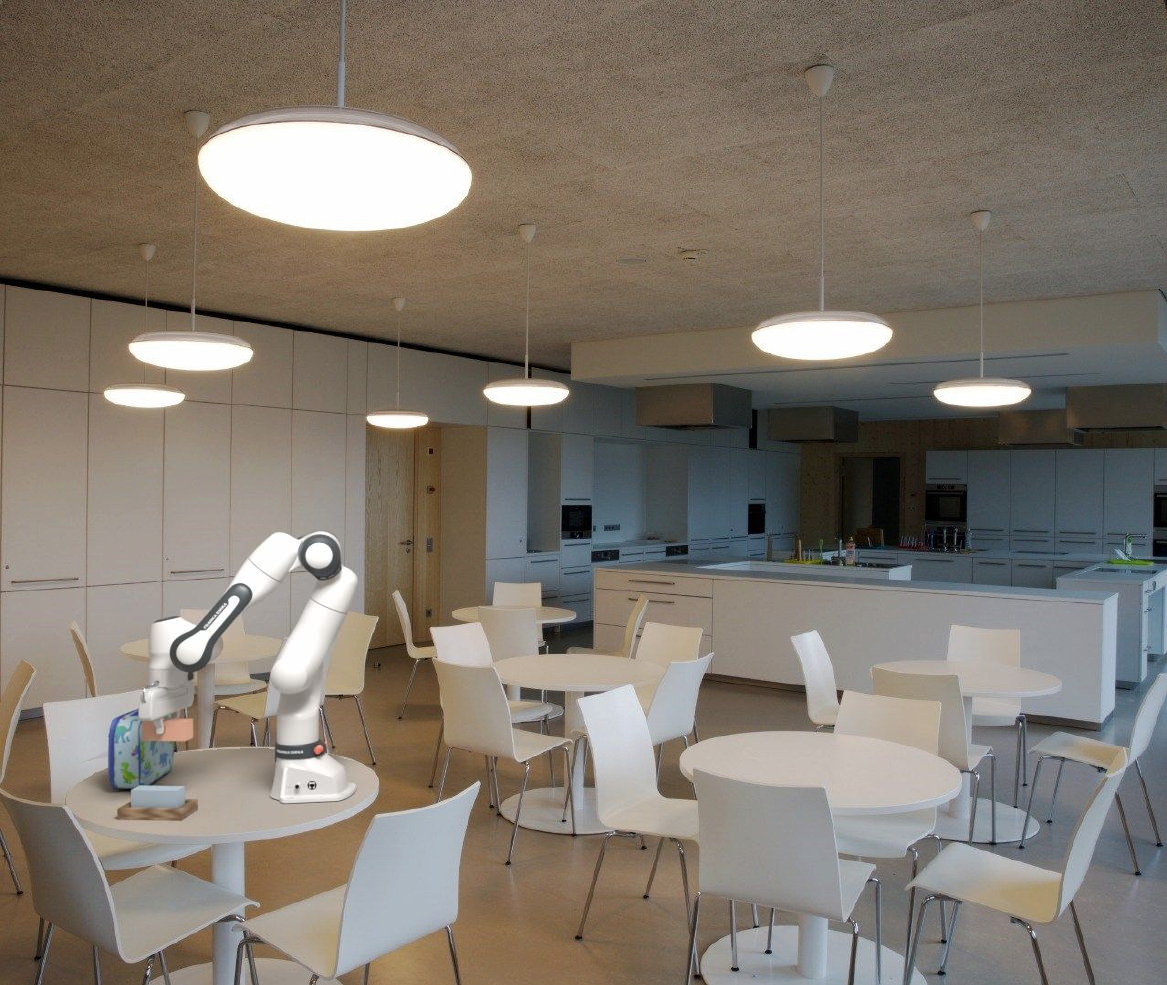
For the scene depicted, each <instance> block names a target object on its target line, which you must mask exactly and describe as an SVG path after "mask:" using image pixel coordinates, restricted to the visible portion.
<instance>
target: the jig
mask: <svg viewBox="0 0 1167 985" xmlns="http://www.w3.org/2000/svg"><path fill="white" fill-rule="evenodd" d="M198 803H199V800H198V799H197V798H196V799H195V798H194V799H193V798H185V804H184V805H182V806H181V807H179V808H150V807H131V801H129V802H127V803H125V804H124V805H122V806H120V807H118V808H117V810H116V813H117V815H116V819H129V820H131V821H132V820H133V821H135V820H136V821H137V820H138V821H140V820H141V821H183V820H185V819H186V818H188V816H191V815H192V814H193V813H194V812H197V810H199V804H198Z"/></svg>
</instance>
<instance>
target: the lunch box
mask: <svg viewBox="0 0 1167 985" xmlns="http://www.w3.org/2000/svg"><path fill="white" fill-rule="evenodd" d="M138 713H139V708H137V709H133V710H131V711H128V712H126V713H124V714H120V715H118V716H116V717H115V718H113V719H112V721H111V722H110V727H109V733H108V748H107V750H108V751H107V754H108V755H107V756H108V757H107V759H108V760H107V764H108V765H107V767H108V768H107V770H108V771H107V772H108V780H109V784H110V786H111V788H112V790H118V789H121V790H123V789H126V790H132V789H134V788H136V787H138V786H140V785H142V786H152V785H153V784H154V783H155V782H156V781H157V780H159V779H161V778H162V777H164V776H165V775H167V774H168V773H170V771H171V770H172V767H173V765H174V756H175V742H176V741H142V721H141V720H140V719H139V716H138ZM164 718H171V715H170V714H169V715H166V716H164Z"/></svg>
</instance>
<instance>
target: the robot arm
mask: <svg viewBox="0 0 1167 985" xmlns="http://www.w3.org/2000/svg"><path fill="white" fill-rule="evenodd" d="M299 567H303V568H304V569H305V570H306V571H307V572H308V573H309V574H311V575H312V576H313V577H315V579H316V582H315V586H314V589H313V590H312V592H311V594H310V596H309V598H308V600H307V603H306V604H305V606H304V608H303V611H302V613H301V614H300V616H299V619H298V621H297V623H296V625H295V627H294V628H293V629H292V631H291V633H290V635H288V638H287V640H286V641H285V643H284V645H283V646H282V648H281V650H280V652H279V653H278V656H277V658H276V660H275V661H274V664H273V665H272V668H271V670H270V682H271V685H272V687H274V689H275V690H276V691H278V692H280V694H279V695H280V696H279V700H278V707H277V709H276V711H277V712H276V741H275V742H274V763H275V769H274V777H273V781H272V782H273V783H272V787H271V791H270V793H269V796H270V797H271V798H272V799H275V800H278V801H279V802H280V803H281V804H300V803H319V802H321V803H322V802H323V803H324V802H338V801H342V800H345V799H347V798H349V797H351V796H352V795H353V794H355V792H356V790H357V784H356V783H355V782H349V777H348V772H347V769H346V766H344V765H343V764H341V763H340V762H339V761H338V760H336V759H335V758H334V757H332V756H331V755H329V754H328V753H327V746H328V741H327V740H326V741H323V740H322V739H320V736H319V735H320V706H321V705H320V704H321V697H322V689H323V688H322V686H323V673H324V659H325V658H326V656H327V654H328V652H329V650H330V649H331V647H332V645H333V644H334V642H335V641H336V638H337V636H338V634H339V632H340V630H341V628H342V626H343V624H344V622H345V620H346V617H347V615H348V613H349V611H350V609H351V607H352V604H353V601H354V598H355V595H356V593H357V592H356V591H357V589H358V585H359V578H358V575H357V574H356V573H355V572H354V571H353V570H352V569H350V568H348V567H346V566H344V565H343V564H342V546H341V543H340V540H339V538H338V537H337V536H336V535H335V534H334V533H332V532H330V531H327V530H322V529H321V530H315V531H312V532H309V533H306V534H305V535H302V536H299V537H297V538H295V537H293V536H292V535H290V534H288V533H285V532H281V531H280V532H279V531H278V532H277V531H276V532H273V533H272V534H271V535H269V537H267V538H266V539H265V540H264V541H262V542H261V544H259V545H258V546H257V547H256V548H255V549H254V550H253V551H252V552H251V554H250V555H249V556H248V557H247V558H246V559H245V560H244V562H243V563H242V565H241V566H240V567H239V568H238V570H237V572H236V573H235V575H234V577H233V578H232V580H231V582H230V584H229V585H228V587H227V589H226V590H225V591H224V593H223V595H222V596H221V597H220V598H219V600H218V601H217V602H216V603H215V604H214V606H213V607H212V608H211V609H210V610H209V611H208V613H207V614H206V615H205V616H204V617H203V618H202V619H201V621H199V623H198V624H194V623H192V622H190V621H188V620H187V619H184V618H183V617H182V616H179V615H172V616H168V617H167V616H166V617H163V618H160V619H157V620H155V621H154V622H152V623H151V625H150V628H149V632H148V645H147V646H148V656H149V664H148V671H147V672H148V674H147V675H148V676H147V677H148V679H147V680H148V681H147V682H148V683H147V684H146V685H145V686H144V688H143V689H142V692H141V694H140V696H139V703H138V709H139V713H138V716H139V719H140V720H141V721H153V722H154V724H155V726H156V733H157V734H163V733H165V732H166V730H165V729H166V726H164V725H163V720H164V716H166V715H169V714H170V715H171V718H178V719H180V716H181V711H182V710H184V709H187V708H189V707H191V706H193V703H194V700H195V682H194V680H195V679H196V674H195V673H196V672H199V671H201V670H203V668H205V667H206V666H207V665H208V664H210V663H211V662H213V661H214V660H216V659H217V658H218V657H219V656H220V654H221V653H222V652H223V646H224V641H223V638H222V636H223V635H224V633H225V632H226V631H227V630H228V629H229V628H230V626H231V625H232V624H233V623H234V621H235V620H236V619H238V617H239V616H241V614H243V613H244V612H245V611H247V610H249V609H250V608H252V607H254V606H255V605H256V606H257V605H258V604H259V603H261V602H262V601H263V602H264V600H265V599H267V598H268V597H269V596H270V595H272V593H274V591H276V590H277V589H278V588H279V586H280V585H282V583H283V582H284V581H285V580H286V578H287V576H288V575H289V574H290V573H292V571H293V570H295V569H296V568H299Z"/></svg>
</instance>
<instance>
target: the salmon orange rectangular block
mask: <svg viewBox="0 0 1167 985" xmlns="http://www.w3.org/2000/svg"><path fill="white" fill-rule="evenodd" d="M163 725H164V726H166V729H165V730H166V732H165V733H163V734H157V733H156V726H155V724H154V722H153V721H142V741H175V742H187V741H188V740H191V739H193V738H194V718H179V719H178V718H164V720H163Z"/></svg>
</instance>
